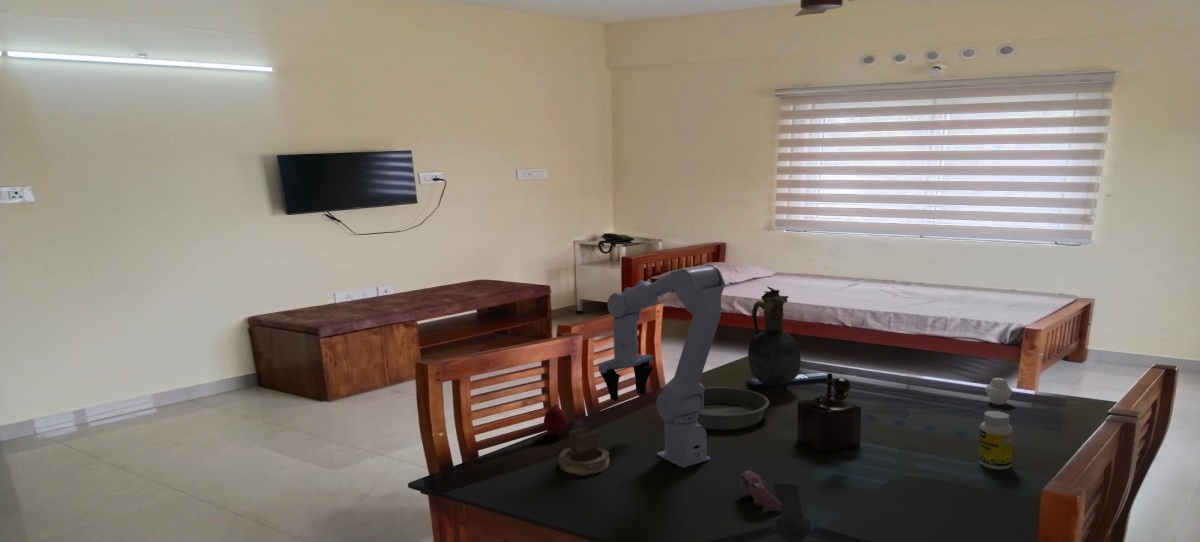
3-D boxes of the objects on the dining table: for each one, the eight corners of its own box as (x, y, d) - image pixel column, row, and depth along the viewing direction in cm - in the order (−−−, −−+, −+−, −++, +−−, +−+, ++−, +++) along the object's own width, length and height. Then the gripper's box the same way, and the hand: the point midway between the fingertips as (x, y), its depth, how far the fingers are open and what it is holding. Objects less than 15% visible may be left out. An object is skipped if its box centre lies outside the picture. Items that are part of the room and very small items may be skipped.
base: (618, 467, 162) (618, 456, 161) (575, 479, 156) (575, 468, 156) (592, 452, 171) (592, 441, 171) (550, 463, 165) (549, 452, 165)
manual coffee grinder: (793, 439, 175) (793, 365, 172) (830, 431, 179) (831, 359, 177) (839, 462, 161) (840, 381, 158) (878, 453, 165) (879, 374, 163)
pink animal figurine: (748, 499, 148) (732, 470, 147) (768, 488, 148) (752, 459, 147) (763, 522, 138) (747, 491, 137) (785, 510, 138) (768, 479, 137)
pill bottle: (971, 462, 158) (973, 412, 157) (992, 457, 161) (994, 407, 159) (997, 472, 153) (999, 420, 151) (1018, 467, 155) (1020, 416, 154)
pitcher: (772, 398, 206) (771, 292, 202) (738, 381, 224) (737, 283, 220) (805, 393, 209) (806, 289, 205) (769, 376, 227) (769, 280, 223)
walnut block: (597, 459, 163) (596, 433, 162) (579, 463, 160) (578, 437, 160) (587, 453, 167) (586, 427, 166) (569, 457, 164) (568, 431, 163)
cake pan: (789, 418, 190) (789, 401, 190) (719, 440, 177) (718, 421, 176) (722, 396, 210) (722, 380, 210) (654, 414, 197) (654, 397, 196)
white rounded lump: (987, 398, 200) (988, 373, 200) (1013, 401, 197) (1014, 375, 196) (983, 404, 195) (984, 378, 195) (1009, 408, 192) (1010, 381, 191)
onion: (564, 440, 179) (563, 408, 178) (541, 439, 180) (540, 407, 179) (570, 432, 185) (569, 401, 184) (548, 431, 186) (546, 400, 185)
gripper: (640, 334, 185) (642, 387, 186) (591, 343, 177) (593, 398, 179) (657, 339, 179) (658, 394, 180) (607, 348, 171) (609, 405, 173)
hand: (627, 396), depth 179 cm, fingers open, 7 cm apart
